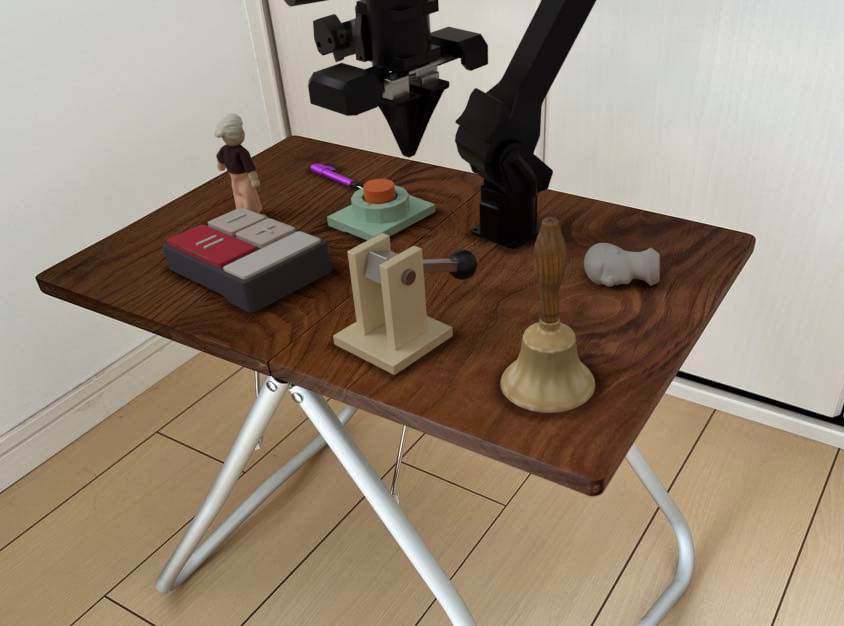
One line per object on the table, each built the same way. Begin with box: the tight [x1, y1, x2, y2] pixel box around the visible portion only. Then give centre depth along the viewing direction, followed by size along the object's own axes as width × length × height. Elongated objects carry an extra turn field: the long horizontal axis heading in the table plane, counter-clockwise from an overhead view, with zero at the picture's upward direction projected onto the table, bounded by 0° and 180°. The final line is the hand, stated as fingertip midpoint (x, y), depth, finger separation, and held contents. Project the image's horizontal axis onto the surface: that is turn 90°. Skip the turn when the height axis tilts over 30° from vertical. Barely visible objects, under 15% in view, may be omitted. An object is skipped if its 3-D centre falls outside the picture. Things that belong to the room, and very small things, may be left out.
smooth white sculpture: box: [583, 242, 661, 288], centre depth 89 cm, size 4×8×5 cm
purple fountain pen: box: [310, 163, 363, 190], centre depth 111 cm, size 3×1×16 cm
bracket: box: [332, 233, 454, 376], centre depth 80 cm, size 8×8×10 cm
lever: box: [365, 249, 478, 284], centre depth 82 cm, size 14×3×3 cm, turn 139°
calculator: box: [162, 208, 333, 314], centre depth 93 cm, size 11×4×15 cm
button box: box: [326, 184, 436, 241], centre depth 102 cm, size 10×8×3 cm
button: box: [362, 178, 396, 204], centre depth 101 cm, size 4×4×2 cm
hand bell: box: [500, 216, 596, 414], centre depth 72 cm, size 8×8×16 cm
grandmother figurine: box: [213, 112, 269, 219], centre depth 100 cm, size 8×4×13 cm, turn 58°
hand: (408, 155), depth 88 cm, fingers closed
